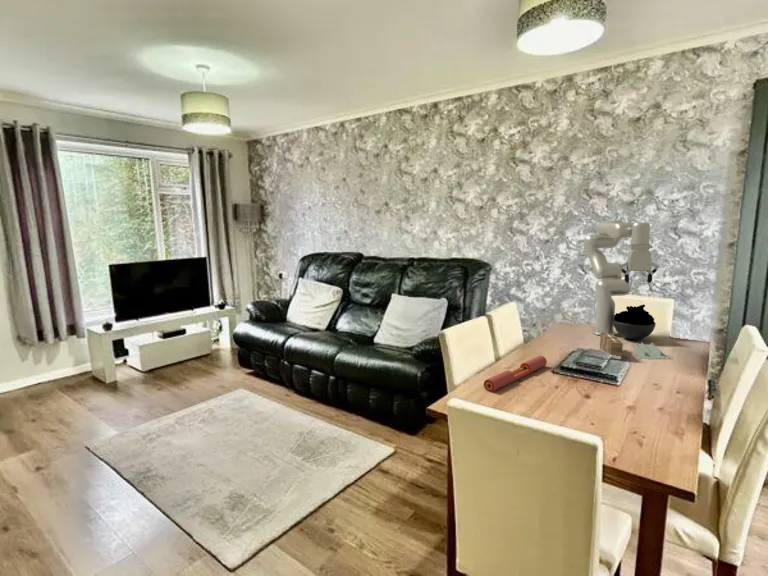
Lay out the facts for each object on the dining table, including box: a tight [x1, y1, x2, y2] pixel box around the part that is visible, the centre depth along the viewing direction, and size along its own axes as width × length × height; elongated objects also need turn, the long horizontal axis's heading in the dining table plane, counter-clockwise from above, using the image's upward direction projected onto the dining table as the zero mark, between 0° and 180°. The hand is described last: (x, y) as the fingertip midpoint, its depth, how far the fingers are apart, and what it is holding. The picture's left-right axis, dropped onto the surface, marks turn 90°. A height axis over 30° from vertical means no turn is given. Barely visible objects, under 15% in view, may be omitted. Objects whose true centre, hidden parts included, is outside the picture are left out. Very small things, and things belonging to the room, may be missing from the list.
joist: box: [599, 333, 624, 357], centre depth 204 cm, size 18×5×8 cm, turn 167°
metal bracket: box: [630, 342, 673, 360], centre depth 201 cm, size 14×6×15 cm
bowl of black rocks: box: [613, 303, 657, 341], centre depth 227 cm, size 20×20×19 cm
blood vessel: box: [483, 355, 548, 393], centre depth 176 cm, size 42×5×5 cm, turn 132°
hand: (638, 282), depth 207 cm, fingers open, 9 cm apart
